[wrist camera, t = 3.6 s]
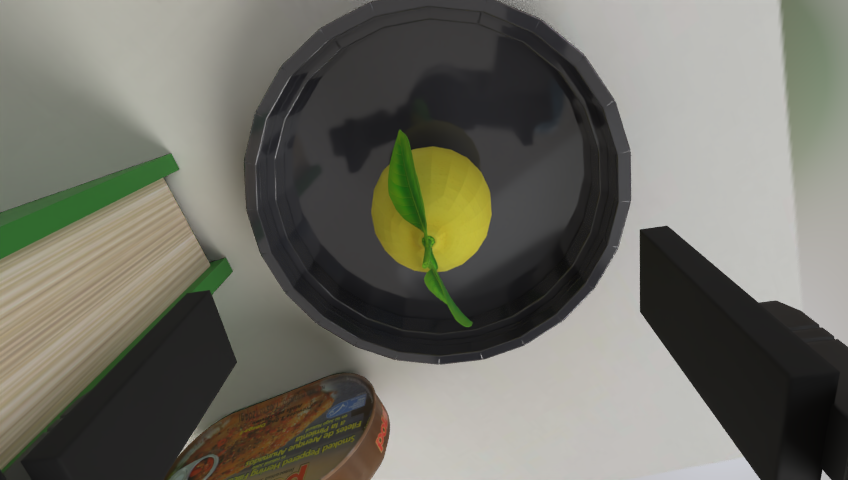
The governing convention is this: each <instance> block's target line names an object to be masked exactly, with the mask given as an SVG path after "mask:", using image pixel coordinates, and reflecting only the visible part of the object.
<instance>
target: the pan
mask: <svg viewBox="0 0 848 480" xmlns="http://www.w3.org/2000/svg"><path fill="white" fill-rule="evenodd" d="M399 129H400V130H401V131H402V132H403V133H404V134H406V136H407V138H408V140H409V143H410V147H411V150H413V149H418V148H425V147H432V146H434V147H439V148H445V149H450V150H453V151H455V152H457V153H459V154H461V155H463V156H465V157H467V158H468V159H469V160H470V161H471V162H472V163H473V164H474V165H475V166H476V167H477V168H478V169H479V170H480V171H481V173H482V175H483V177H484V179H485V181H486V183H487V186H488V188H489V190H490V197H491V213H492V215H491V220H490V224H489V228H488V232H487V236H486V238H485V239H484V241H483V243H482V244H481V246H480V247H479V249H478V251H477V252H476V253H475V254H474V255H473V256H471V257H470V258H469V259H468V260H467V261H466V262H465V263H463V264H462V265H460V266H457V267H455V268H452V269H450V270H448V271H443V272H438V274H439V276H440V278H441V280H442V282H443V284H444V286H445V288H446V290H447V292H448V293H449V295H450V297H451V299H452V300H453V302H454V303H455V304H456V306H457V307H458V308H459V310H460V311H461V312H462V313H463V314H464V315H465V316H466V317H467V318H468V319H469V320H470V321H471V322H472V326H470V327H465V326H463V325H461V324H460V323H459V322H457V321H456V320H455V318H454V316H453V314H452V313H451V311H450V309H449V307H448V305H447V304H446V303H444V302H443V301H442V300H440V299H439V298H437V297H436V296H435V295H434V294H433V293H432V292H431V291H430V290H429V289H428V287H427V286H426V284H425V281H424V278H425V275H426V273H427V272H421V271H414V270H412V269H410V268H408V267H406V266H403V265H401V264H399V263H398V262H397V261H396V260H394V259H393V258H392V257H391V256H390V255H389V254H388V253H387V252H386V251H385V249H384V248H383V246H382V244H381V243H380V241H379V239H378V237H377V236H376V234H375V229H374V224H373V219H372V214H371V209H372V201H373V193H374V189H375V186H376V184H377V182H378V180H379V178H380V176H381V174H382V172H383V170H384V169H385V168H386V167H387V166H388V165H389V164H390V161H391V157H392V152H393V148H394V145H395V142H396V139H397V136H398V132H399ZM244 161H245V162H244V173H245V193H246V209H247V214H248V217H249V220H250V223H251V226H252V229H253V232H254V236H255V239H256V242H257V245H258V248H259V251H260V254H261V256H262V257H263V259H264V260H265V262H266V264H267V265H268V267H269V268H270V270H271V272H272V273H273V275H274V276H275V278H276V279H277V281H278V283H279V284H280V286H281V287H282V289H283V291H284V292H285V293H286V294H287V295H288V296H289V297H290V298H291V299H292V300H293V301H294V302H295V303H296V304H297V305H298V306H299V307H300V308H301V309H302V310H303V311H304V312H305V313H306V314H307V315H308V316H309V317H310V318H311V319H312V320H313V321H314V322H315V323H317V324H318V325H320V326H321V327H323V328H325V329H326V330H328V331H330V332H331V333H333V334H335V335H336V336H338V337H340V338H341V339H343V340H345V341H346V342H348V343H350V344H351V345H353V346H355V347H358V348H361V349H364V350H367V351H370V352H373V353H376V354H379V355H382V356H385V357H388V358H391V359H394V360H399V361H409V362H419V363H428V364H450V363H458V362H467V361H476V360H482V359H487V358H490V357H493V356H495V355H498V354H501V353H504V352H507V351H510V350H513V349H516V348H518V347H521V346H524V345H526V344H527V343H529V342H531V341H532V340H534V339H535V338H537V337H539V336H540V335H542V334H543V333H545V332H547V331H548V330H550V329H551V328H553V327H554V326H556V325H558V324H559V323H561V322H562V320H565V319H566V318H567V317H568V315H569V314H570V313H571V312H572V311H573V310H574V309H575V308H576V307H577V306H578V305H579V304H580V303H581V302H582V301H583V300H584V299H585V298H586V297H587V296H588V295H589V294H590V293H591V292H592V291H593V290H594V288H596V286H597V284H598V282H599V281H600V279H601V277H602V275H603V274H604V272H605V270H606V269H607V267H608V265H609V263H610V262H611V260H612V258H613V256H614V255H615V253H616V251H617V250H618V247H619V243H620V240H621V236H622V232H623V229H624V225H625V221H626V217H627V214H628V210H629V206H630V203H631V202H630V201H631V152H630V147H629V144H628V141H627V138H626V134H625V131H624V128H623V124H622V121H621V118H620V115H619V111H618V108H617V105H616V102H615V101H614V98H613V97H612V95H611V94H610V92H609V91H608V89H607V88H606V86H605V85H604V83H603V82H602V80H601V79H600V77H599V76H598V74H597V73H596V71H595V70H594V68H593V67H592V65H591V64H590V62H589V61H588V59H587V58H586V56H584V54H583V53H582V52H581V51H579V50H578V49H577V48H576V47H575V46H573V45H572V44H571V43H570V42H568V41H567V40H566V39H565V38H564V37H562V36H561V35H560V34H559V33H558V32H556V31H555V30H554V29H553V28H551V27H550V26H549V25H548V24H547V23H545V22H544V21H543V20H540V18H538V17H535V16H533V15H530V14H528V13H526V12H523V11H521V10H518V9H516V8H514V7H511V6H509V5H506V4H504V3H502V2H499V1H497V0H376V1H372V2H369V3H367V4H365V5H363V6H361V7H359V8H357V9H355V10H354V11H352V12H350V13H348V14H346V15H344V16H342V17H340V18H338V19H336V20H334V21H333V22H331V23H329V24H327V25H325V26H323V27H321V29H319V30H318V31H317V32H316V33H314V34H313V35H312V36H311V37H310V38H309V39H308V40H307V41H306V42H305V43H304V44H303V45H302V46H301V47H300V48H299V49H298V50H297V51H296V52H295V53H294V54H293V55H292V56H291V57H290V58H289V59H288V60H287V61H286V62H285V63H284V64H283V65H282V66H281V68H280V69H279V71H278V72H277V74H276V76H275V78H274V80H273V81H272V83H271V85H270V87H269V88H268V90H267V92H266V94H265V96H264V97H263V99H262V101H261V103H260V105H259V106H258V108H257V110H256V113H255V115H254V119H253V124H252V128H251V132H250V137H249V141H248V146H247V150H246V154H245V159H244Z"/></svg>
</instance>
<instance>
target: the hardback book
mask: <svg viewBox="0 0 848 480" xmlns="http://www.w3.org/2000/svg"><path fill="white" fill-rule="evenodd" d="M177 170H179V167H178V165H177V164H176V162H175V160H174V158H173V156H172V154H168V155H165V156H162V157H159V158H156V159H153V160H151V161H148V162H145V163H142V164H139V165H136V166H133V167H130V168H128V169H125V170H122V171H119V172H116V173H113V174H110V175H107V176H104V177H102V178H99V179H96V180H93V181H90V182H87V183H84V184H81V185H79V186H76V187H73V188H70V189H67V190H64V191H61V192H58V193H56V194H53V195H50V196H47V197H44V198H41V199H38V200H35V201H33V202H30V203H27V204H24V205H21V206H18V207H15V208H12V209H10V210H7V211H4V212H1V213H0V469H1V471H2V472H4V471H5V470H6V469H7V468H8V467H9V466H10V465H11V464H12V463H13V462H14V461H15V460H16V459H17V458H18V457H19V456H20V455H21V454H22V453H23V452H24V451H25V450H26V449H27V448H28V447H29V446H30V445H31V444H32V443H33V442H34V441H35V440H36V439H37V438H38V437H39V436H40V435H41V434H42V433H43V432H47V428H48V427H49V426H50V425H51V424H52V423H53V422H54V421H55V420H56V419H60V415H61V414H62V413H63V412H64V411H65V410H66V409H67V408H68V407H69V406H70V405H71V404H72V403H73V402H74V401H76V400H77V399H78V398H80V397H81V396H83V395H84V394H86V393H87V392H89V391H90V390H91V389H93V388H94V387H95V386H96V385H97V383H98V382H99V381H100V380H101V379H102V378H103V377H104V376H105V375H106V374H107V373H108V372H109V371H110V370H111V369H112V368H113V367H114V366H115V365H116V364H117V363H118V362H119V361H120V360H121V359H122V358H123V357H124V356H125V355H126V354H127V353H128V352H129V351H130V350H131V349H132V348H133V347H134V346H135V345H136V344H137V343H138V342H139V341H140V340H141V339H142V338H143V337H144V336H145V335H146V334H147V333H148V332H149V331H150V330H151V329H152V328H153V327H154V326H155V325H156V324H157V323H158V322H159V321H160V320H161V319H162V318H163V317H164V316H165V315H166V314H167V313H168V312H169V311H170V310H171V309H172V308H173V307H174V306H175V305H176V304H177V303H178V302H179V301H180V300H181V299H182V298H183V297H184V296H185V295H186V293H192V292H199V291H206V290H210V292H211V294H213V293H214V292H215V291H216V289H217V288H218V287H219V286H220V285H221V284H222V283H223V282H224V281H225V280H226V278H227V277H228V276H229V275H230V274H231V273H232V272H233V271H232V269H231V267H230V265H229V263H228V261H227V259H226V258H223V259H220V260H217V261H213V262H210V263H209V262H208V260H207V258H206V256H205V254H204V252H203V250H202V249H201V247H200V245H199V243H198V241H197V239H196V238H195V236H194V234H193V232H192V230H191V228H190V226H189V225H188V223H187V221H186V219H185V217H184V215H183V213H182V212H181V210H180V208H179V206H178V204H177V202H176V200H175V199H174V197H173V195H172V193H171V191H170V189H169V187H168V186H167V184H166V182H165V180H164V178H163V177H165V176H167V175H169V174H171V173H173V172H175V171H177Z"/></svg>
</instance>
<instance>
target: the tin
mask: <svg viewBox="0 0 848 480" xmlns="http://www.w3.org/2000/svg"><path fill="white" fill-rule="evenodd" d="M389 432H390V422H389V416H388V413H387V411H386V409H385V407H384V406H383V404H382V402H381V401H380V399H379V398H378V396H377V395H376V393H375V390H374V388H373V386H372V384H371V383H370V382H369V381H368V380H367V379H366V378H365V377H363V376H360V375H357V374H353V373H341V374H335V375H331V376H328V377H325V378H322V379H320V380H317V381H315V382H312V383H310V384H307V385H305V386H302V387H300V388H297V389H294V390H292V391H289V392H287V393H284V394H282V395H279V396H276V397H274V398H271V399H269V400H266V401H263V402H261V403H258V404H256V405H253V406H251V407H248V408H245V409H243V410H240V411H238V412H235V413H233V414H231V415H228V416H227V417H225V418H223V419H221V420H220V421H218V422H217V423H215V424H214V425H212V426H211V427H209V428H208V429H207V430H205V431H204V432H203V433H202V434H200V435H199V436H198V437H197V438H196V439H195V440H194V441H193V442H192V443H190V444H189V445H188V447H187V448H186V449H185V450H184V451H183V452H182V453H181V454H180V455H179V456H178V457H177V459H176V460H175V462H174V463H173V465H172V467H171V468H170V470H169V471H168V473H167V475H166V476H165V478H164V479H163V480H370V479H371V478H372V477H373V475H374V474H375V472H376V471H377V469H378V468H379V466H380V464H381V463H382V460H383V458H384V455H385V451H386V447H387V443H388V439H389Z"/></svg>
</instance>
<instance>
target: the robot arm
mask: <svg viewBox="0 0 848 480" xmlns="http://www.w3.org/2000/svg"><path fill="white" fill-rule="evenodd" d="M640 312H641V314H642V315H643V316H644V318H645V319H646V321H647V322H648V323H649V325H650V326H651V328H652V329H653V330H654V332H655V333H656V335H657V336H658V337H659V339H660V340H661V342H662V343H663V344H664V346H665V347H666V348H667V350H668V351H669V353H670V354H671V355H672V357H673V358H674V360H675V361H676V362H677V364H678V365H679V367H680V368H681V369H682V371H683V372H684V374H685V375H686V376H687V378H688V379H689V381H690V382H691V383H692V385H693V386H694V388H695V389H696V390H697V392H698V393H699V394H700V396H701V397H702V399H703V400H704V401H705V403H706V404H707V406H708V407H709V408H710V410H711V411H712V413H713V414H714V415H715V417H716V418H717V420H718V421H719V422H720V424H721V425H722V427H723V428H724V429H725V431H726V432H727V434H728V435H729V436H730V438H731V439H732V440H733V442H734V443H735V445H736V446H737V447H738V449H739V450H740V452H741V453H742V454H743V456H744V457H745V459H746V460H747V461H748V463H749V464H750V465H751V467H752V468H753V470H754V471H755V473H756V474H757V475H758V477H759V478H760V479H761V480H821V474H822V469H823V470H824V472H825V473H826V474H827V475H828V476H829V477H830V478H831V480H848V347H847V346H846V345H845V344H843V343H842V342H840V341H839V340H838V339H836V340H835V339H834V336H833V335H832V334H830V333H829V332H828V331H826V330H825V329H823V328H820V327H819V324H817V323H816V322H814V321H813V320H812V319H810V318H809V317H808V316H807V315H805V314H804V313H803V312H802V311H800V310H797V309H795V308H792V307H790V306H788V305H785V304H783V303H781V302H778V301H769V302H761V303H758V302H757V301H756V300H754V299H753V298H752V297H751V296H750V295H749V294H747V293H746V292H745V291H744V290H743V289H741V288H740V287H739V286H738V285H737V284H736V283H734V282H733V281H732V280H731V279H730V278H728V277H727V276H726V275H725V274H724V273H722V272H721V271H720V270H719V269H718V268H717V267H715V266H714V265H713V264H712V263H711V262H709V261H708V260H707V259H706V258H705V257H704V256H702V255H701V254H700V253H699V252H698V251H696V250H695V249H694V248H693V247H692V246H691V245H689V244H688V243H687V242H686V241H685V240H683V239H682V238H681V237H680V236H679V235H678V234H676V233H675V232H674V231H673V230H672V229H670V228H669V227H668V226H663V227H655V228H648V229H641V230H640ZM236 363H237V361H236V358H235V355H234V353H233V350H232V348H231V345H230V342H229V340H228V337H227V334H226V332H225V329H224V326H223V324H222V321H221V318H220V316H219V313H218V310H217V308H216V305H215V302H214V300H213V297H212V294H211V292H210V290H206V291H199V292H192V293H186V295H185V296H184V297H183V298H182V299H181V300H180V301H179V302H178V303H177V304H176V305H175V306H174V307H173V308H172V309H171V310H170V311H169V312H168V313H167V314H166V315H165V316H164V317H163V318H162V319H161V320H160V321H159V322H158V323H157V324H156V325H155V326H154V327H153V328H152V329H151V330H150V331H149V332H148V333H147V334H146V335H145V336H144V337H143V338H142V339H141V340H140V341H139V342H138V343H137V344H136V345H135V346H134V347H133V348H132V349H131V350H130V351H129V352H128V353H127V354H126V355H125V356H124V357H123V358H122V359H121V360H120V361H119V362H118V363H117V364H116V365H115V366H114V367H113V368H112V369H111V370H110V371H109V372H108V373H107V374H106V375H105V376H104V377H103V378H102V379H101V380H100V381H99V382H98V383H97V385H96V386H95V387H94V388H93V389H91V390H90V391H89V392H87V393H86V394H84V395H83V396H81V397H80V398H78V399H77V400H76V401H74V402H73V403H72V404H71V405H70V406H69V407H68V408H67V409H66V410H65V411H64V412H63V413H62V414H61V415H60V419H56V420H55V421H54V422H53V423H52V424H51V425H50V426H49V427H48V428H47V432H43V433H42V434H41V435H40V436H39V437H38V438H37V439H36V440H35V441H34V442H33V443H32V444H31V445H30V446H29V447H28V448H27V449H26V450H25V451H24V452H23V453H22V454H21V455H20V456H19V457H18V458H17V459H16V460H15V461H14V462H13V463H12V464H11V465H10V466H9V467H8V468H7V469H6V470H5V471H4V472H2V471H1V469H0V480H163V479H164V478H165V476H166V475H167V473H168V471H169V470H170V468H171V467H172V465H173V463H174V462H175V460H176V459H177V457H178V455H179V454H180V452H181V451H182V449H183V447H184V446H185V444H186V443H187V441H188V439H189V438H190V436H191V435H192V433H193V431H194V430H195V428H196V427H197V425H198V423H199V422H200V420H201V419H202V417H203V415H204V414H205V412H206V411H207V409H208V408H209V406H210V404H211V403H212V401H213V400H214V398H215V396H216V395H217V393H218V392H219V390H220V388H221V387H222V385H223V384H224V382H225V380H226V379H227V377H228V376H229V374H230V372H231V371H232V369H233V368H234V366H235V364H236Z"/></svg>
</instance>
